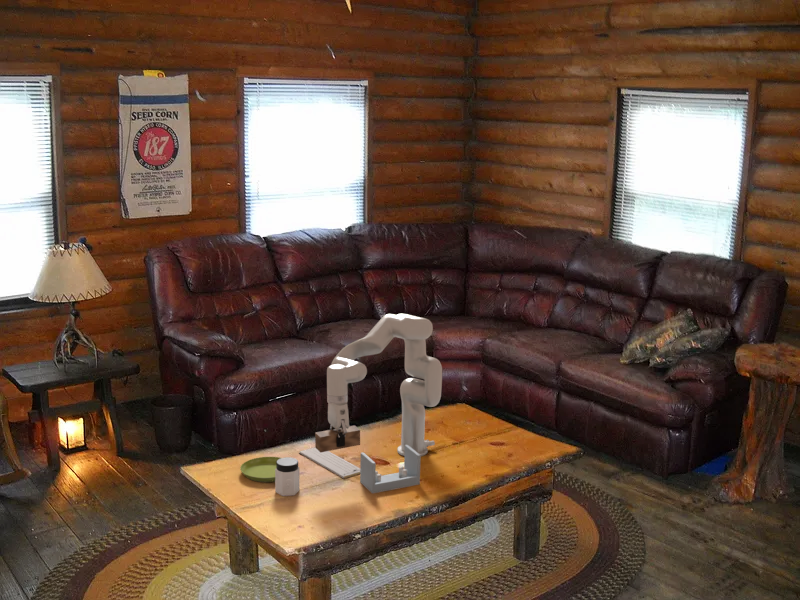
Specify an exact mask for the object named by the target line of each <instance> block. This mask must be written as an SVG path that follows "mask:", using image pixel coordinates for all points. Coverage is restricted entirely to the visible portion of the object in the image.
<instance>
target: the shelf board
mask: <svg viewBox="0 0 800 600" xmlns="http://www.w3.org/2000/svg"><path fill="white" fill-rule="evenodd" d="M340 428H341V427H339V429H340ZM346 430H347V433H346V434H345V446H342V447H337V438H336V437H338V436H337V429H332V430H330V429H327V430H323V431H317V432H315V433H314V436H315V438H314V439H315V441H314V442H315V448H316V449H317V450H318V451H319V452H326V451H329V452H331V451H336V450H339V449H340V450H341V449H346V448H351V447H357V446H360V445H361V430H360V429H359V427H358V426H356V425H349V428H348V429H347V428H346ZM340 432H342V430H340V431H339V433H340Z"/></svg>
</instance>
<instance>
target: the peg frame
mask: <svg viewBox="0 0 800 600" xmlns="http://www.w3.org/2000/svg"><path fill="white" fill-rule="evenodd" d="M403 457H404V460H403V461H404V464H403V466H399V467H398V472H395V473H389V474H384V475H382V474H380V473H379V472H378V471H377V470H376V469H377V467H376V464H377V463H376V462H375V461H374V460H373V459H372V458H371V457H369V456H368V455H367V454H366V453H365V452H360V465H359V466H360V467H359V468H360V474H359V475H360V476H359V479H360V480H359V483H361V484H362V485H363V487H365V488H366V489H367V490H368V491H369V493H371V494H377V493H381V492H386V491H392V490H398V489H403V488H407V487H414V486H419V485H421V483H420V482H421V460H422V459H421V457H422V456H421V455H420V454H419V453H417V452H416V451H415V450H413V449H412V448H411V447H410V446H408V445H405V456H403Z"/></svg>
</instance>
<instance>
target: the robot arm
mask: <svg viewBox="0 0 800 600" xmlns="http://www.w3.org/2000/svg"><path fill="white" fill-rule="evenodd" d="M433 327H434V326H433V323H432V321H431V320H430V319H428V318H425V317H422V316H421V317H420V316H418V315H417V316H416V315H414V314H413V315H412V314H408V313H398V314H394V313H387V314H384V315H383V316H382V317H381V318H380V320H378V322H377V323H376V324H375V325H374V326H373V327H372V328H371V330H370V331H369V332H368V333H367V335H365V336H364V337H362V338H360V339H356V340H355V341H353V342H351V343H348V344H347V345H346V346H344V347H343V348H342V349H341V350H340V351H339V352H338V353H337V354H336V356H334V358H333V360H332V361H331V363H330V365H329V366H327V367H326V368H327V369H326V397H327V398H326V401H327V403H328V404H327V421H328V423H329V426H330V427H329V430H332V429H337V436H338V437H336V438H337V447H342V446H345V434H346V433H347V430H346V428H347V429H348V428H349V426H350V418H349V407H348V406H349V405H348V400H349V397H348V394H349V392H348V391H349V390H348V385H349V384H352V383H358V382H360V381H363V380H364V379H365V377H366V375H367V374H368V369H367V366H366V365H365V364H364V363H362V362H360V361H357V360H356V359H359V358H361V357H367V356H374V355H377V354H380V353H382V352H383V351H384V350H385V348H386V347H387V346H388V345H389V344H390V342H391V341H392V340H393V339H394V338H397V339H398V338H399V339H402V340H403V341H404V371H405V373H406V374H407V375H408V376H411V377H408V378H406V379H404V380H403V381H402V382H401V383H400V388H399V393H400V399H401V443H400V445H399V446H398V447H397V453H398V454H399V455H401V456H403V457H404V456H405V445H408V446H410V447H411V448H412V449H413V450H415V451H416V452H417V453H419V454H420V455H421V457H424V456H425V455H427V454H428V450H429V449H428V447H429V446H430V447H431V446H432V447H433V446H435V444H436V442H435V440H429V439H425V434H426V433H425V432H426V431H425V426H426V425H425V424H426V409H425V406H426V407H429V408H432V407H436V406H437V405H438V404H439V403H440V400H441V397H442V388H443V387H442V386H443V385H442V384H443V366H442V364H441V362H440V360H439V359H438V358H436V357H432V356H429V355H428V354H427V343H426V340H427V339H428V338H429V337H431V335H432V334H433V329H434V328H433ZM339 428H340V429H339ZM340 430H342V432H340V433H339V431H340Z"/></svg>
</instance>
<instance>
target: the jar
mask: <svg viewBox="0 0 800 600" xmlns="http://www.w3.org/2000/svg"><path fill="white" fill-rule="evenodd" d="M274 483H275V486H274V487H275V489H274V490H275V493H277V494H279V496H282V497H289V496H295V495H297V493H298V492H299V491H300V467H299V460H298V459H297V458H295V457H291V456H289V457H280V459H278V460H277V461H276V469H275V481H274Z"/></svg>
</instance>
